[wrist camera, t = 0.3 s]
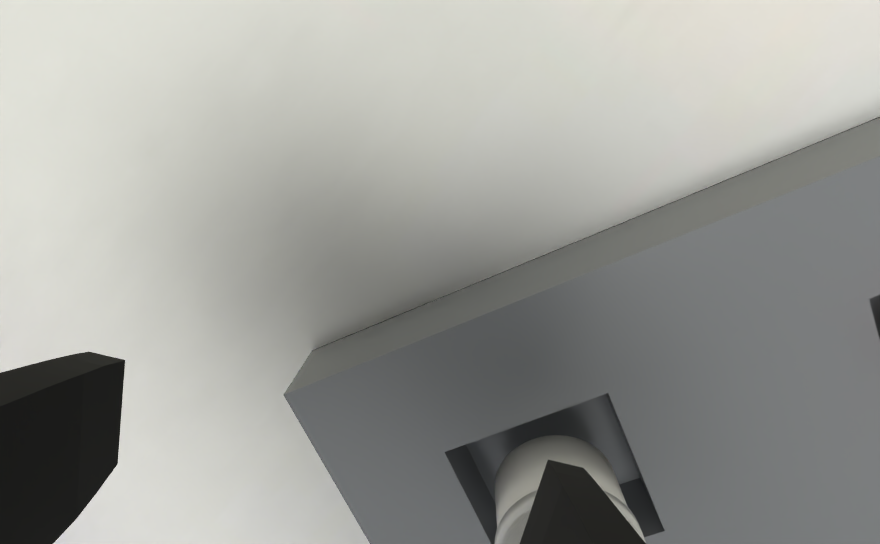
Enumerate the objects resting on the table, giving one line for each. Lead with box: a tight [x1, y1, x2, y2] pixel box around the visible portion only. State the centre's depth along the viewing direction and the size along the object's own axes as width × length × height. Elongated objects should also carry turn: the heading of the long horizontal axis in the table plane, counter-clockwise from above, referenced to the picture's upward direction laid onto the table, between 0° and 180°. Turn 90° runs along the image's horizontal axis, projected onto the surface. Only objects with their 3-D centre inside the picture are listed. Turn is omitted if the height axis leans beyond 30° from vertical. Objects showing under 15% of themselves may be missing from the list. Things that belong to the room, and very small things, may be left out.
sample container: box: [494, 435, 646, 544], centre depth 15 cm, size 4×4×3 cm
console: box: [284, 117, 880, 544], centre depth 17 cm, size 24×12×3 cm, turn 114°
